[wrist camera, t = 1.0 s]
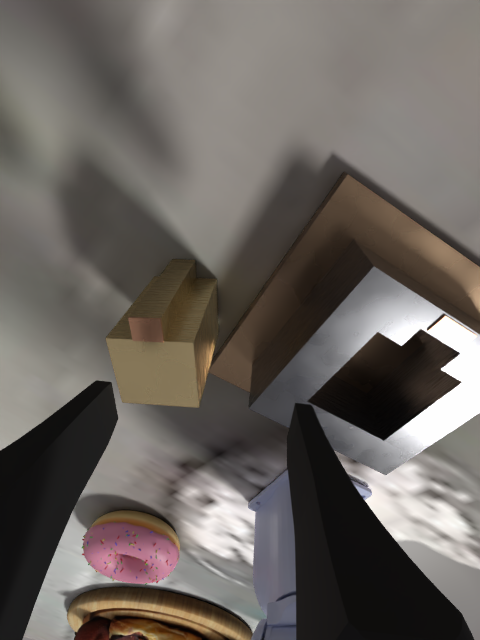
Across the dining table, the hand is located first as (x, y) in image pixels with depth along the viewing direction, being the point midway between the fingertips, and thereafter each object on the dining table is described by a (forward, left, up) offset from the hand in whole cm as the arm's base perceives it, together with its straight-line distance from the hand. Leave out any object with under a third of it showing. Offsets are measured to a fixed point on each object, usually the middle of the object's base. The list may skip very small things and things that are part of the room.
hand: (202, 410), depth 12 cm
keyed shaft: (-2, +2, -10) cm, 10 cm away
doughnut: (-33, -6, -10) cm, 35 cm away
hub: (+2, -9, -10) cm, 13 cm away
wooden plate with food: (-61, -21, -10) cm, 65 cm away
